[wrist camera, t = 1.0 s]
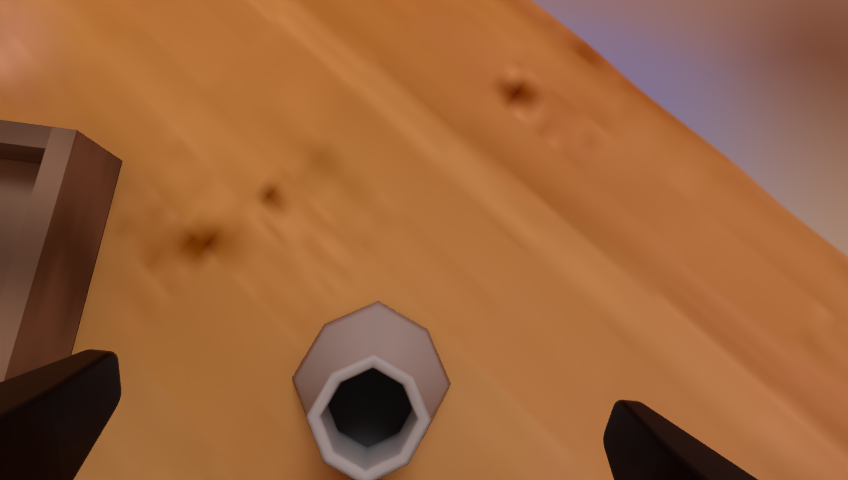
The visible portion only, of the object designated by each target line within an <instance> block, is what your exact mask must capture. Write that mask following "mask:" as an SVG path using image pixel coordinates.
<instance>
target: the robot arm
mask: <svg viewBox="0 0 848 480" xmlns="http://www.w3.org/2000/svg"><path fill="white" fill-rule="evenodd" d="M120 397H121V383H120V373H119V363H118V357H117V355H116V354H115V353H114V352H112V351H104V350H93V349H90V350H85V351H82V352H79V353H77V354H74V355H71V356H69V357H66V358H63V359H61V360H58V361H55V362H53V363H50V364H47V365H45V366H42V367H39V368H37V369H34V370H31V371H29V372H26V373H23V374H21V375H18V376H15V377H13V378H10V379H7V380H5V381H2V382H0V480H73V479H74V478H75V476H76V474H77V473H78V471H79V469H80V468H81V466H82V464H83V463H84V461H85V459H86V458H87V456H88V454H89V453H90V451H91V449H92V447H93V446H94V444H95V442H96V441H97V439H98V437H99V436H100V434H101V432H102V431H103V429H104V427H105V426H106V424H107V422H108V421H109V419H110V417H111V416H112V414H113V412H114V411H115V409H116V407H117V405H118V403H119V400H120ZM603 441H604V448H605V451H606V455H607V458H608V461H609V465H610V468H611V471H612V474H613V478H614V480H758V479H756V478H755V477H753V476H752V475H750V474H748V473H747V472H745V471H744V470H742V469H741V468H739V467H738V466H736V465H735V464H733V463H732V462H730V461H729V460H727V459H726V458H724V457H723V456H721V455H720V454H718V453H717V452H715V451H714V450H712V449H711V448H709V447H708V446H706V445H705V444H703V443H702V442H700V441H699V440H697V439H696V438H694V437H693V436H691V435H690V434H688V433H687V432H685V431H684V430H682V429H681V428H679V427H678V426H676V425H675V424H673V423H672V422H670V421H669V420H667V419H666V418H664V417H663V416H661V415H659V414H658V413H656V412H655V411H653V410H652V409H650V408H649V407H647V406H646V405H644V404H643V403H641V402H638V401H630V400H619V401H617V402H616V403H615V404H614V406H613V409H612V412H611V415H610V418H609V421H608V423H607V426H606V429H605V432H604V438H603Z"/></svg>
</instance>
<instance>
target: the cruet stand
mask: <svg viewBox="0 0 848 480" xmlns="http://www.w3.org/2000/svg"><path fill="white" fill-rule="evenodd" d="M121 163H122V160H120V159H119V158H117V157H116V156H114V155H113V154H111V153H110V152H108V151H107V150H105V149H104V148H102V147H101V146H99V145H98V144H97V143H95V142H94V141H92V140H91V139H89V138H88V137H86V136H85V135H83V134H82V133H80V132H79V131H77V130H72V129H64V128H57V127H49V126H42V125H34V124H27V123H19V122H12V121H4V120H0V382H2V381H5V380H7V379H10V378H13V377H15V376H18V375H21V374H23V373H26V372H29V371H31V370H34V369H37V368H39V367H42V366H45V365H47V364H50V363H53V362H55V361H58V360H61V359H63V358H66V357H69V356H71V352H72V348H73V345H74V341H75V337H76V333H77V329H78V326H79V322H80V318H81V314H82V310H83V307H84V303H85V299H86V295H87V291H88V288H89V284H90V280H91V276H92V273H93V269H94V265H95V261H96V257H97V254H98V250H99V246H100V242H101V238H102V235H103V231H104V227H105V223H106V219H107V216H108V212H109V208H110V204H111V201H112V197H113V193H114V189H115V185H116V182H117V178H118V174H119V170H120V166H121Z"/></svg>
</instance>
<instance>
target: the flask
mask: <svg viewBox="0 0 848 480" xmlns="http://www.w3.org/2000/svg"><path fill="white" fill-rule="evenodd" d="M292 378H293V381H294V384H295V386H296V389H297V392H298V394H299V397H300V400H301V402H302V405H303V408H304V410H305V413H306V417H307V419H308V422H309V425H310V427H311V430H312V433H313V435H314V438H315V441H316V443H317V446H318V449H319V451H320V454H321V457H322V459H323V462H324V463H326V464H328V465H329V466H331V467H333V468H335V469H336V470H338V471H340V472H341V473H343V474H345V475H347V476H348V477H350V478H352V479H353V480H378V479H380V478H382V477H384V476H386V475H388V474H390V473H392V472H394V471H396V470H398V469H400V468H402V467H404V466H406V465H408V464H409V462H410V460H411V458H412V456H413V454H414V452H415V450H416V448H417V447H418V445H419V443H420V441H421V439H422V438H423V436H424V434H425V433H426V431H427V429H428V427H429V425H430V423H431V421H432V419H433V417H434V415H435V413H436V411H437V409H438V407H439V405H440V404H441V402H442V400H443V398H444V396H445V394H446V392H447V390H448V388H449V386H450V384H451V383H450V381H449V378H448V376H447V374H446V371H445V369H444V367H443V364H442V362H441V360H440V357H439V355H438V353H437V350H436V348H435V346H434V344H433V341H432V339H431V337H430V334H429V332H428V330H427V329H426V328H424V327H422V326H420V325H419V324H417V323H415V322H414V321H412V320H410V319H408V318H407V317H405V316H403V315H401V314H400V313H398V312H396V311H395V310H393V309H391V308H389V307H388V306H386V305H384V304H382V303H381V302H379V301H377V302H375V303H373V304H370V305H368V306H366V307H363V308H361V309H359V310H357V311H354V312H352V313H350V314H347V315H345V316H343V317H340V318H338V319H336V320H333V321H331V322H329V323H326V324H324V326H323V327H322V329H321V331H320V332H319V334H318V336H317V337H316V339H315V341H314V342H313V344H312V346H311V347H310V349H309V350H308V352H307V354H306V355H305V357H304V359H303V360H302V362H301V364H300V365H299V367H298V369H297V370H296V372H295V373H294V375H293V377H292Z"/></svg>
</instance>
